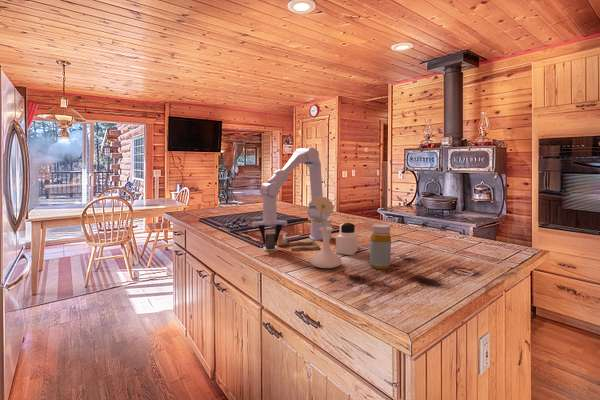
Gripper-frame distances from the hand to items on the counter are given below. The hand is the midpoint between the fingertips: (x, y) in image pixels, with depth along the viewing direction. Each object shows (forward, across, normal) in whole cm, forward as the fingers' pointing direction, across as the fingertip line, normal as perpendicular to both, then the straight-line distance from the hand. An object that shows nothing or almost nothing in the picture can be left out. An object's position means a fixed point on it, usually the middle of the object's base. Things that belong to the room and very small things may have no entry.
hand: (270, 242), depth 145 cm
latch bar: (+2, -6, -9) cm, 11 cm away
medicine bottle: (+3, -30, +12) cm, 33 cm away
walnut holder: (+3, -14, 0) cm, 15 cm away
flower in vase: (+3, -17, +26) cm, 31 cm away
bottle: (+3, -36, +32) cm, 48 cm away
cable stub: (+2, 0, 0) cm, 2 cm away
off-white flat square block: (+3, 0, 0) cm, 3 cm away
